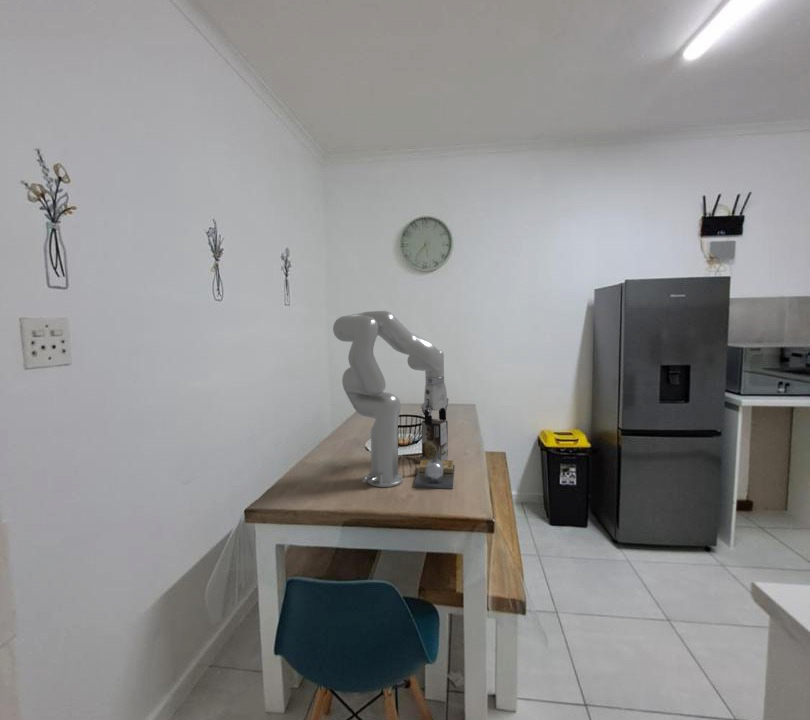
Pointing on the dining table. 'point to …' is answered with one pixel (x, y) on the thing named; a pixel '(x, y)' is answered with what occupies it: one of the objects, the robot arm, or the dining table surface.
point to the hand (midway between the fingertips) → (435, 422)
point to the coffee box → (435, 440)
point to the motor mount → (435, 474)
